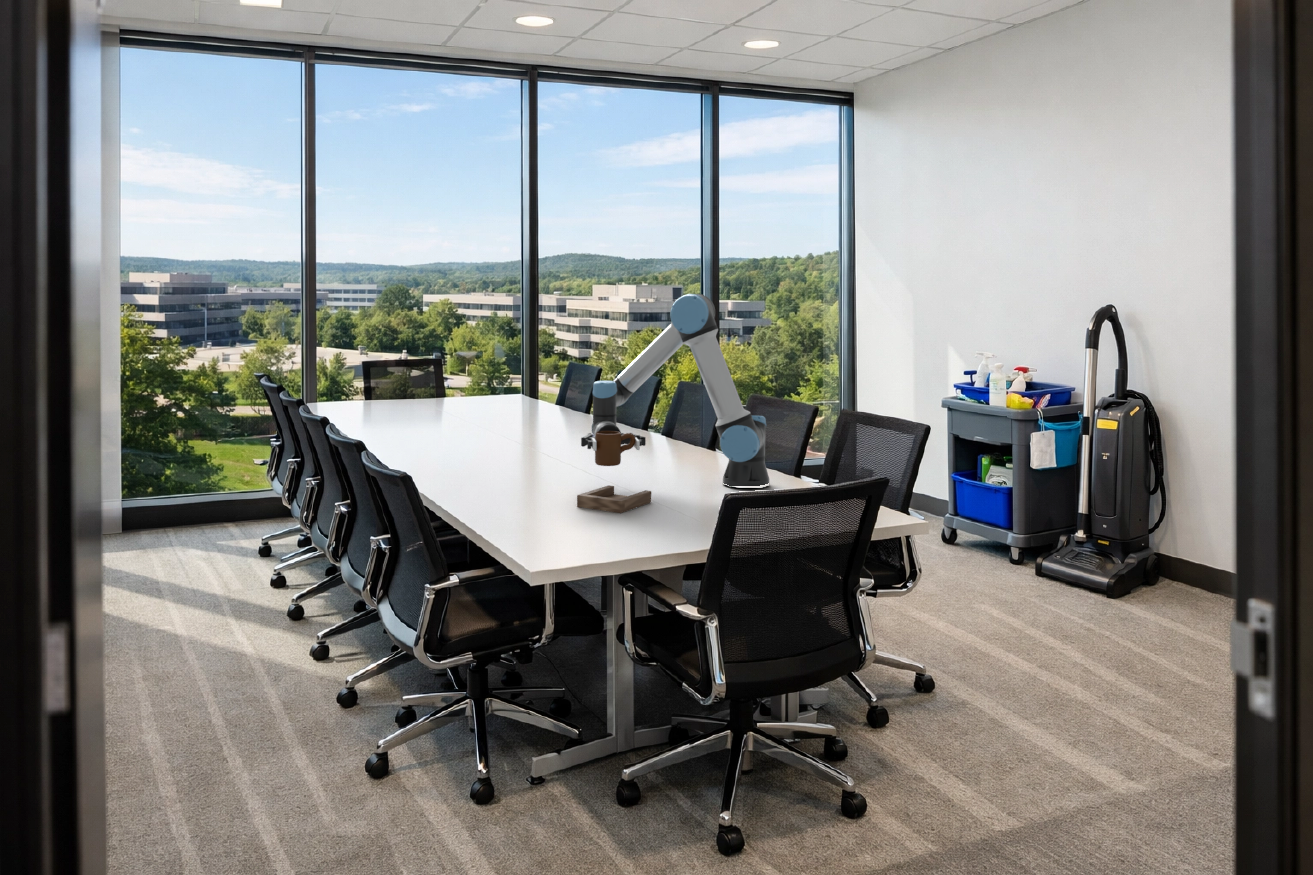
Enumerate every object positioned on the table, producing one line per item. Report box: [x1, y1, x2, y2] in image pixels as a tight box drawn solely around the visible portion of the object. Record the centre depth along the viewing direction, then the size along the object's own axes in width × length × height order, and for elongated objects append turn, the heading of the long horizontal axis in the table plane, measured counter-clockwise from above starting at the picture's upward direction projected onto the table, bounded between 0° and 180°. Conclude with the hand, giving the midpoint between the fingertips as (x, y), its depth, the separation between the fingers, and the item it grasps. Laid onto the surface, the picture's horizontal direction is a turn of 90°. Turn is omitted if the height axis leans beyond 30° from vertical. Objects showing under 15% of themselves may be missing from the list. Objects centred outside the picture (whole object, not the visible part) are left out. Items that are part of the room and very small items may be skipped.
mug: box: [594, 431, 635, 467], centre depth 294 cm, size 12×8×9 cm, turn 101°
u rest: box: [576, 485, 652, 514], centre depth 295 cm, size 15×17×4 cm
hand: (616, 445), depth 290 cm, fingers closed on mug, 12 cm apart
